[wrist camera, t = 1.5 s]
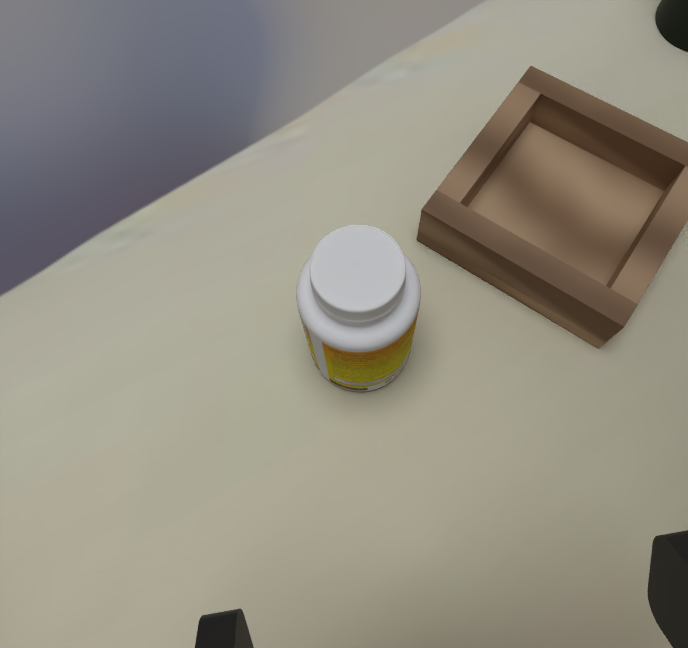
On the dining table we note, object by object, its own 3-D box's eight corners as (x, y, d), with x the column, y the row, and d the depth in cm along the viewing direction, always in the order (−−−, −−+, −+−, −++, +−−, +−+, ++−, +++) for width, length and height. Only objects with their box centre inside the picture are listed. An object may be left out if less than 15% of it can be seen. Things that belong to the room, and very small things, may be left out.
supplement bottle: (430, 352, 33) (456, 274, 23) (353, 414, 32) (348, 359, 22) (366, 282, 35) (366, 183, 25) (291, 339, 34) (261, 258, 24)
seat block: (516, 106, 39) (530, 65, 35) (690, 194, 36) (722, 159, 33) (416, 240, 35) (421, 209, 32) (598, 348, 33) (624, 326, 29)
